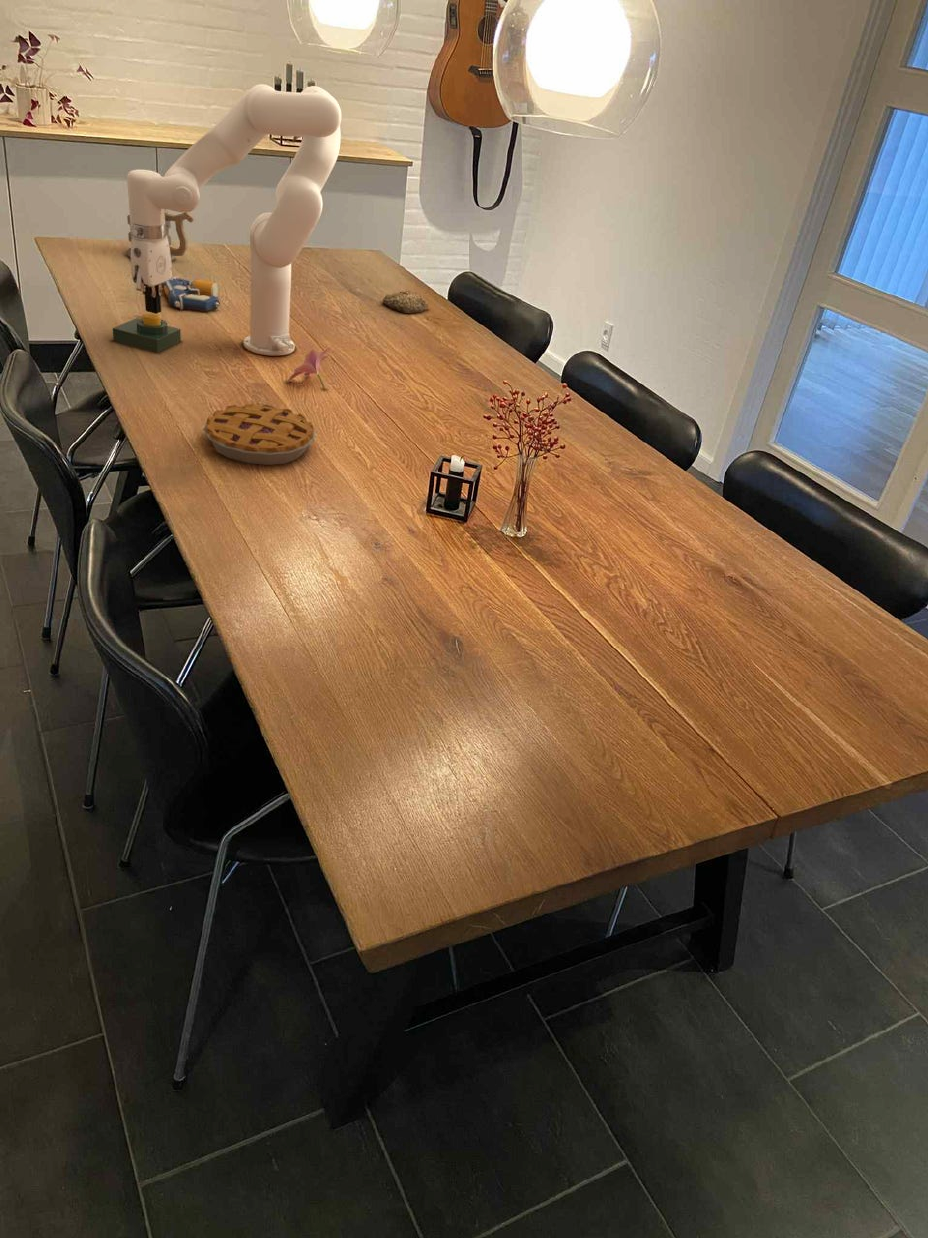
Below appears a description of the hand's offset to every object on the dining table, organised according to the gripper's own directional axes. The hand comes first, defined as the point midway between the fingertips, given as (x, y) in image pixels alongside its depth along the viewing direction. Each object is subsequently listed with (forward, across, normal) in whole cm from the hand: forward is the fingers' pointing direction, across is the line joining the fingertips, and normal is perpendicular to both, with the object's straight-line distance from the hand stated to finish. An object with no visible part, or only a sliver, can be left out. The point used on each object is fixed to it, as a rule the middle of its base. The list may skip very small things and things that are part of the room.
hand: (153, 311), depth 220 cm
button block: (+8, 0, +2) cm, 8 cm away
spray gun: (+8, +35, +11) cm, 37 cm away
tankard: (+8, +62, +38) cm, 73 cm away
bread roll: (+9, +74, -37) cm, 83 cm away
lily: (+8, 0, -41) cm, 42 cm away
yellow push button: (+3, 0, 0) cm, 3 cm away
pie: (+8, -36, -47) cm, 59 cm away
